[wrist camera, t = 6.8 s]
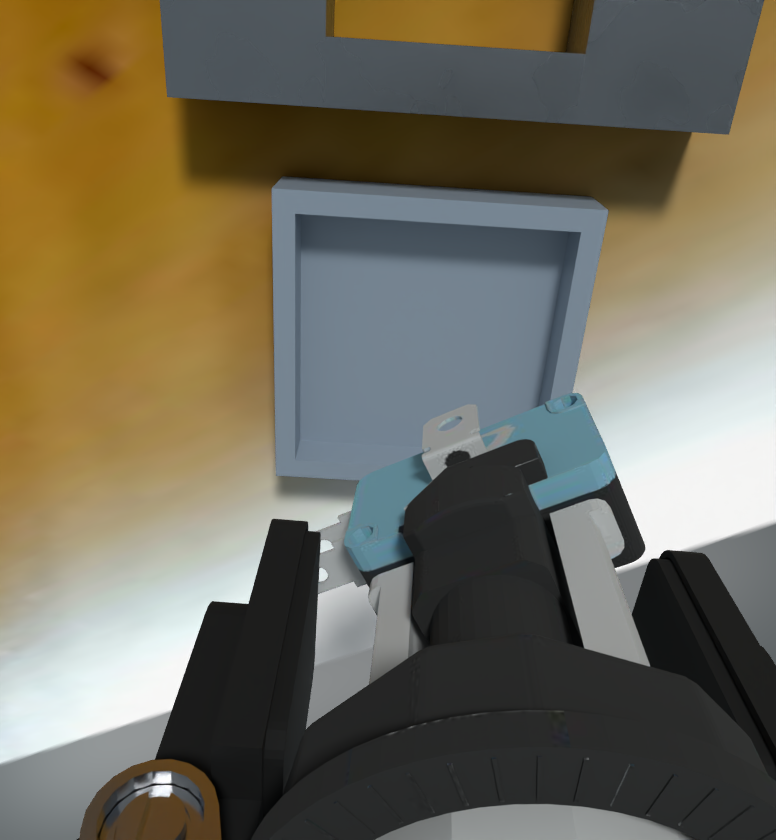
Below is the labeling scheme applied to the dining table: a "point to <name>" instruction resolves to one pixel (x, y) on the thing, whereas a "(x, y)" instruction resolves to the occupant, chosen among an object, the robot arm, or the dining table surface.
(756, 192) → the dining table surface
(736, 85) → the block
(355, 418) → the tray
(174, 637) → the dining table surface
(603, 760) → the push button
